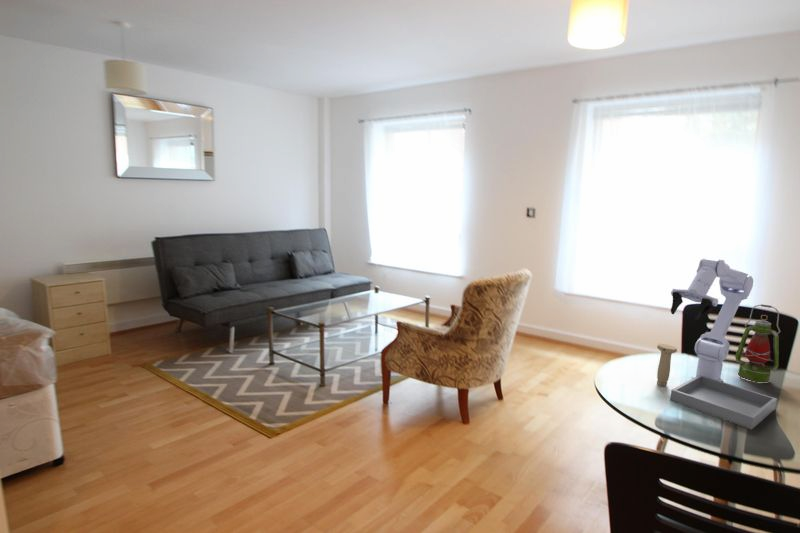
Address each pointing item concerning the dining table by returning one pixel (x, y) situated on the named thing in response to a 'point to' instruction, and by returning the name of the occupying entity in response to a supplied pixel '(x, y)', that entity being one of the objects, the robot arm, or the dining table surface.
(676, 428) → the dining table surface
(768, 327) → the lantern
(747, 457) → the dining table surface
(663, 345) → the handle
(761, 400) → the bin
